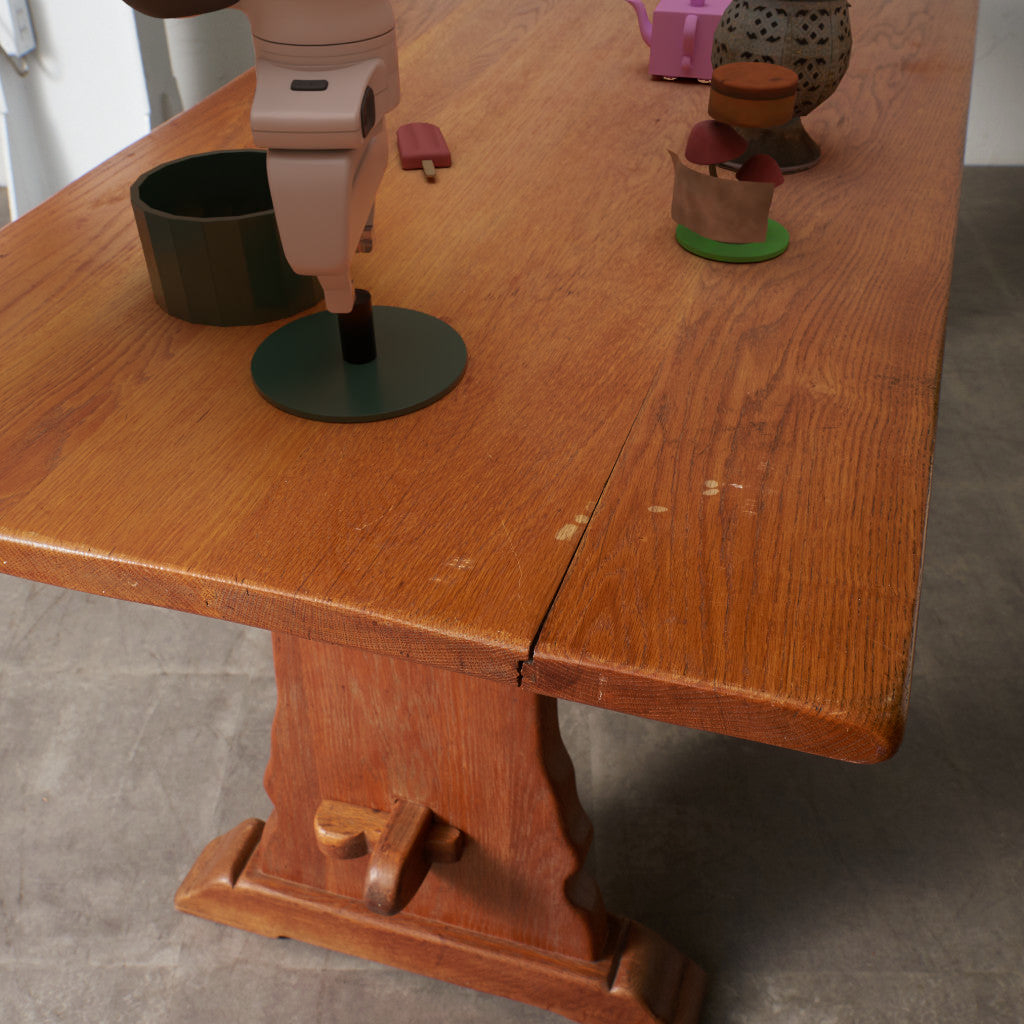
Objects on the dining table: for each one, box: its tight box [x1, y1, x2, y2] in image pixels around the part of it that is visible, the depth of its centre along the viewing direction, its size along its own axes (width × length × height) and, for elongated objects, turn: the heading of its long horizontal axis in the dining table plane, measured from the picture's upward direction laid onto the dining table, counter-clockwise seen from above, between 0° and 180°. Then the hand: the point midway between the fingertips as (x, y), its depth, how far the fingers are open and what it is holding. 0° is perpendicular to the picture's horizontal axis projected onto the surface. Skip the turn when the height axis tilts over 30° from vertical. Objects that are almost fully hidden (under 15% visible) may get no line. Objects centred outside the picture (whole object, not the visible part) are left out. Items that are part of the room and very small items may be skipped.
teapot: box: [624, 0, 732, 81], centre depth 134 cm, size 18×14×10 cm
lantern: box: [711, 0, 854, 175], centre depth 106 cm, size 14×14×25 cm
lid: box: [249, 288, 468, 424], centre depth 76 cm, size 16×16×6 cm
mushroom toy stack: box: [666, 62, 798, 263], centre depth 91 cm, size 12×13×15 cm
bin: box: [129, 148, 325, 328], centre depth 85 cm, size 15×16×10 cm
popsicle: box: [396, 121, 452, 178], centre depth 112 cm, size 5×2×15 cm
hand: (353, 277), depth 73 cm, fingers open, 8 cm apart
